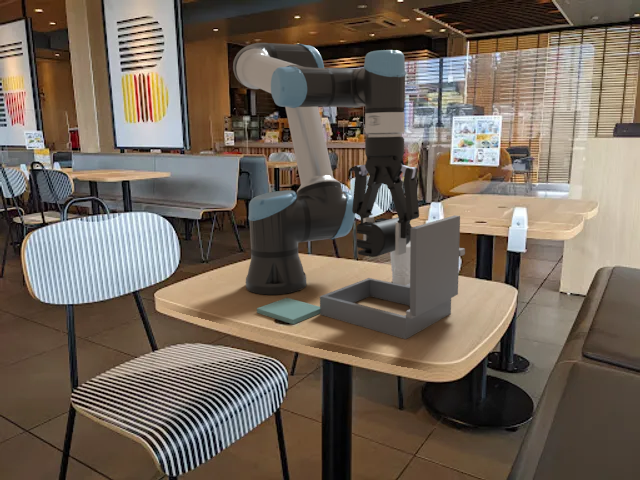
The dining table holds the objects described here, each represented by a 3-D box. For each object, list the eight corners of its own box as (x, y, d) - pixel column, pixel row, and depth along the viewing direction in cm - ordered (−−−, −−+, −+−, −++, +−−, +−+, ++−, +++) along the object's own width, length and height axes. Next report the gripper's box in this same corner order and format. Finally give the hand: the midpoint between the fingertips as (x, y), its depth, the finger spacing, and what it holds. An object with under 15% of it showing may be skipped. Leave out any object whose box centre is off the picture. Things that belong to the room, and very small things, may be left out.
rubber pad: (257, 312, 108) (256, 308, 108) (287, 301, 115) (286, 297, 115) (293, 324, 101) (293, 319, 101) (323, 312, 108) (323, 307, 107)
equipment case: (320, 314, 106) (317, 217, 102) (374, 292, 120) (373, 205, 116) (413, 341, 91) (414, 229, 87) (462, 312, 105) (466, 214, 101)
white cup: (400, 276, 133) (400, 238, 131) (427, 281, 128) (428, 242, 126) (384, 283, 127) (384, 244, 125) (412, 288, 122) (412, 248, 120)
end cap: (384, 260, 97) (384, 225, 96) (355, 254, 102) (355, 221, 100) (412, 250, 104) (413, 218, 103) (384, 245, 109) (384, 214, 107)
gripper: (332, 136, 102) (334, 247, 107) (419, 135, 89) (417, 262, 94) (355, 135, 107) (356, 241, 112) (440, 134, 94) (437, 254, 99)
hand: (384, 250), depth 103 cm, fingers closed on end cap, 7 cm apart
